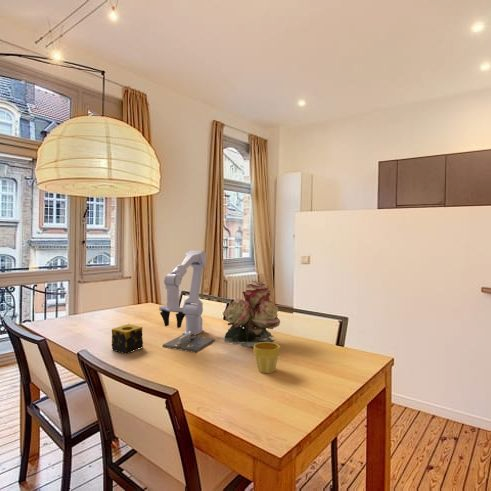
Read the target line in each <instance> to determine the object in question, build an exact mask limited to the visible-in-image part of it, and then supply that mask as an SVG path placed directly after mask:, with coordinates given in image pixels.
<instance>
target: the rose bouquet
mask: <svg viewBox="0 0 491 491" xmlns="http://www.w3.org/2000/svg"><path fill="white" fill-rule="evenodd" d="M266 284H267V282H264V281H263V280H261V281H259V282H258V281H256V280H251V281H250V282H248V283H246V290H245V291H242V292H241V293H242V295H243V298H244V300H243V299H241V298H235V299H234V300H233V301H232V302H231V303H230V305H228V306H227V307H226V308H225V309H224V311H223V313H222V315H223V316H224V317H225V318H226V320H227V322H228V323H227V325H228V326H230V327H229V328H228V330H227V332H225V335H224V343H227V344H231V345H235V344H236V345H240V346H241V347H244V348H254V345H255V344H256V343H260V342H271V343H274V341H276V339H272V338H274V335H272V333H271V332H270V331H269V330H273V329H275V328H277V327H279V326H280V323H281V320H280V318H278V317H279V316H278V315H279V314H278V312H279V307H278V306H276V305H275V303H274V302H273V301H271V300H270V296H271V292H272V291H271V290H270V289H269V287H268V286H265V285H266ZM267 329H269V330H267Z"/></svg>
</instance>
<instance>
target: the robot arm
mask: <svg viewBox="0 0 491 491" xmlns="http://www.w3.org/2000/svg"><path fill="white" fill-rule="evenodd" d="M206 262H207V254H206V252H205V251H204V250H187V251H186V252H185V257H184V259H183V261H181V264H177V265H176V266H175V267H174V269H173V270H172V271H171V272H170V273H167V274H166V275H165V277H164V280H163V282H164V285H165V290H166V305H165V306H164V305H160V306H159V307H158V308H159V309H158V310H159V311H160V313H159V314H160V316H161V319H162V320H163V323H164V327H168V326H169V325H170V315H171V314H170V313H171V312H172V313H176V314H175V318H176V328H177V329H180V328H181V327H182V323H183V320H184V318H185V331H183V332H181V333H182V334H181V335H183V334H187V333H188V331H194V336H198V335H199V334H201V333H202V332H204V331H205V330H204V329H203V317H202V314H203V312H204V311H203V310H204V307H203V305H204V303H203V301H201V299H200V291H201V284H202V277H203V271H204V268H205V267H206V265H207V264H206ZM189 267H191V268H192V269H193V270H192V275H191V276H192V277H191V282H190V283H191V284H190V289H189V297H187V298H186V299H185V300H184V302H183V305H182V307H181V306H180V286H181V284H182V281H183V278H184V277H185V275H186V274H187V272H188V270H187V269H188V268H189Z"/></svg>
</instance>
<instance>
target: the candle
mask: <svg viewBox="0 0 491 491" xmlns="http://www.w3.org/2000/svg"><path fill="white" fill-rule="evenodd" d="M143 344H144V341H143V326H139V325H135V324H130V323H128V324H124V325H121V326H117V327H115V328H112V329H111V350H112V349H113V350H112V351H114V350H117V351H120V352H119V353H121V352H123V353H122V354H125V353H127V354H129V353H128V352H130V353H132V352H131V351H133V350H135V351H137V350H136V349H138V348H141V347H142V348H144V345H143ZM142 348H141V349H142ZM138 350H139V349H138ZM117 351H116V352H117ZM133 352H134V351H133Z"/></svg>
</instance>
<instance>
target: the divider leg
mask: <svg viewBox="0 0 491 491" xmlns="http://www.w3.org/2000/svg"><path fill="white" fill-rule="evenodd" d="M191 336H195V335H194V331H188V333H187V334H185V335H184V336H182V337H180V338H179V339H178V343H179V345H181V343H182V342H183V341H185V340H186V339H188V338H189V337H191Z"/></svg>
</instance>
